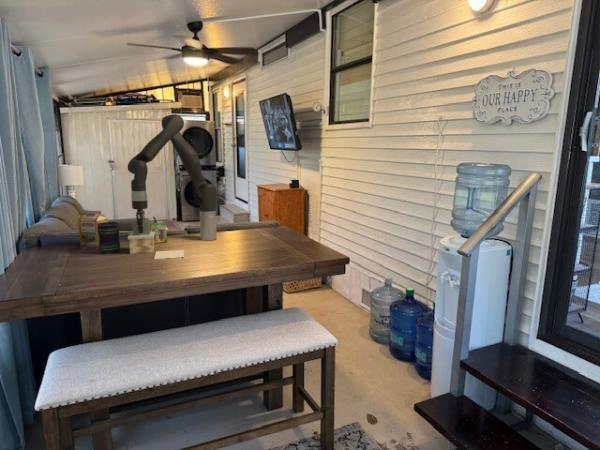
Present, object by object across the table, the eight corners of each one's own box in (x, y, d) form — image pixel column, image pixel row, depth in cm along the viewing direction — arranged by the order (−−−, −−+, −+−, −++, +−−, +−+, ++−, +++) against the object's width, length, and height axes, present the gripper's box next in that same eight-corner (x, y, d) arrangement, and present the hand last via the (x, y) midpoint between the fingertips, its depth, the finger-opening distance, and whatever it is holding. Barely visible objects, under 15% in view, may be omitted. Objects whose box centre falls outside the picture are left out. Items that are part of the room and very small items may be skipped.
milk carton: (109, 242, 229) (106, 209, 225) (98, 246, 218) (95, 212, 215) (91, 241, 230) (89, 208, 226) (80, 246, 219) (77, 211, 216)
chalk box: (167, 242, 231) (166, 217, 228) (150, 244, 226) (149, 218, 223) (163, 239, 238) (162, 214, 235) (147, 240, 233) (145, 215, 231)
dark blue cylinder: (112, 255, 202) (110, 226, 200) (95, 253, 204) (92, 225, 201) (124, 250, 212) (122, 222, 209) (108, 249, 214) (105, 221, 211)
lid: (154, 235, 217) (153, 218, 215) (153, 239, 206) (152, 222, 204) (131, 236, 214) (129, 219, 212) (128, 241, 202) (126, 223, 201)
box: (154, 247, 218) (153, 233, 216) (152, 252, 207) (152, 237, 206) (132, 248, 215) (131, 234, 213) (130, 254, 204) (129, 238, 203)
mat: (184, 250, 212) (184, 250, 212) (184, 257, 199) (183, 256, 199) (156, 252, 209) (156, 251, 209) (154, 259, 195) (154, 258, 195)
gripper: (145, 201, 200) (147, 234, 203) (148, 197, 214) (150, 228, 217) (129, 201, 198) (132, 235, 201) (133, 197, 212) (135, 229, 215)
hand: (141, 231), depth 209 cm, fingers open, 4 cm apart
